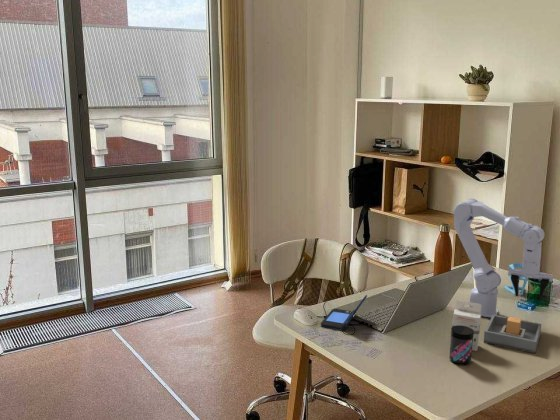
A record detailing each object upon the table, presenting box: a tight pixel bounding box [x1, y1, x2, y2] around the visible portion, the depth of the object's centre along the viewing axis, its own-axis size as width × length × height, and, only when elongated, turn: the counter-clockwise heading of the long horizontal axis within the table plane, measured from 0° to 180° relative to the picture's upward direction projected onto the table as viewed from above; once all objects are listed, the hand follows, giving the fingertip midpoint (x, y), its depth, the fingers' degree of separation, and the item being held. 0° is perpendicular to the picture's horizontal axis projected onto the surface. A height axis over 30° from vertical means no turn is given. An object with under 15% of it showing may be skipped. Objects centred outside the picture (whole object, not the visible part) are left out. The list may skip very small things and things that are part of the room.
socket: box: [501, 325, 525, 338], centre depth 192 cm, size 7×7×2 cm
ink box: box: [451, 299, 482, 352], centre depth 185 cm, size 9×5×15 cm, turn 65°
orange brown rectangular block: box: [506, 316, 522, 335], centre depth 192 cm, size 4×4×6 cm
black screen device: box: [320, 294, 368, 332], centre depth 205 cm, size 16×13×9 cm
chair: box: [504, 262, 529, 296], centre depth 234 cm, size 8×8×12 cm
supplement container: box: [449, 325, 474, 366], centre depth 176 cm, size 7×7×10 cm
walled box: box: [483, 314, 542, 354], centre depth 192 cm, size 16×16×4 cm
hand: (528, 297), depth 202 cm, fingers open, 7 cm apart
